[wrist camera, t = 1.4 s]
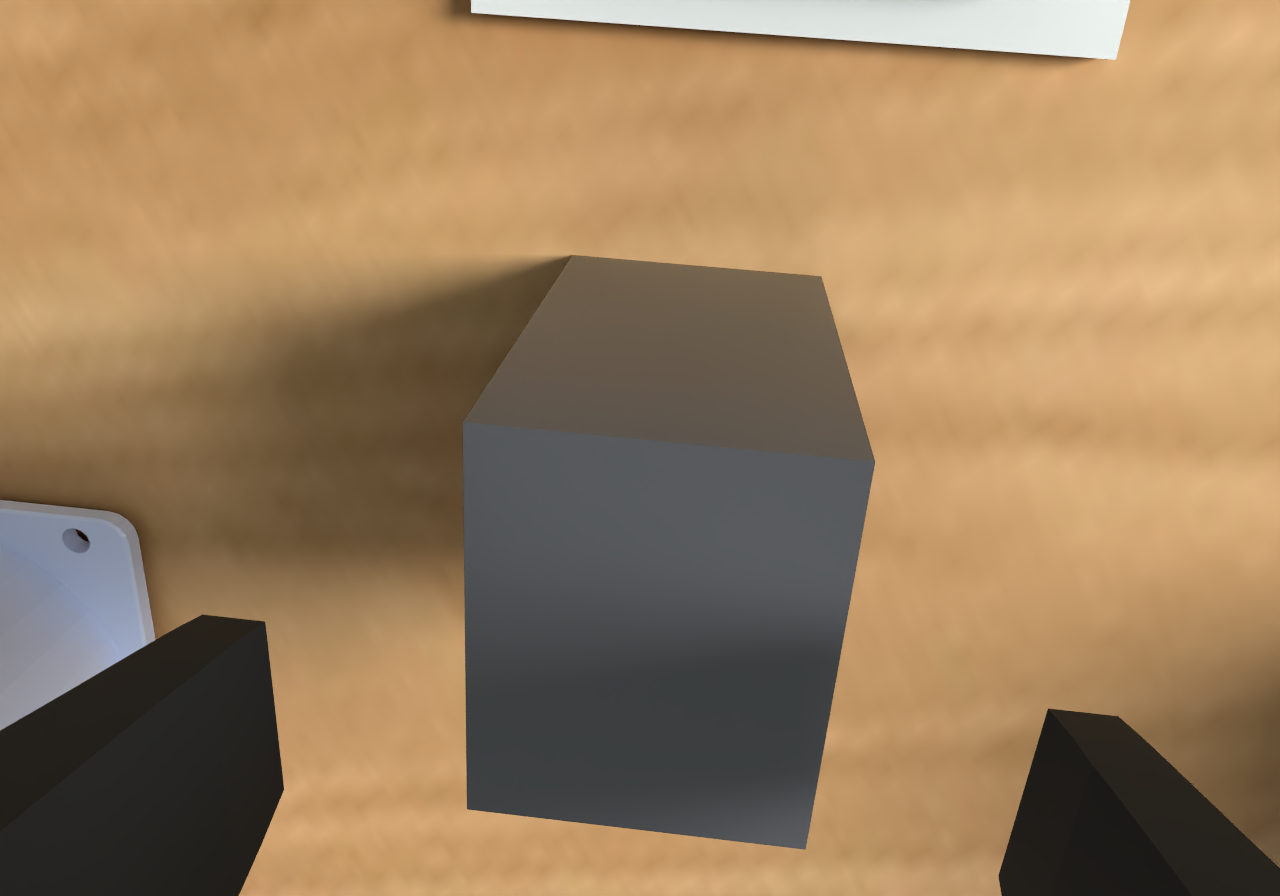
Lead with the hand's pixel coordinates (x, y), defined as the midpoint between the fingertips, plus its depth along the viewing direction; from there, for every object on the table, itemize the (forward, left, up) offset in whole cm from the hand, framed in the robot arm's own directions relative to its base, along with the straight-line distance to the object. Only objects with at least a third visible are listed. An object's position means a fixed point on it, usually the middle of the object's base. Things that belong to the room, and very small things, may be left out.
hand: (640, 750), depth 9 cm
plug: (0, 0, -8) cm, 9 cm away
